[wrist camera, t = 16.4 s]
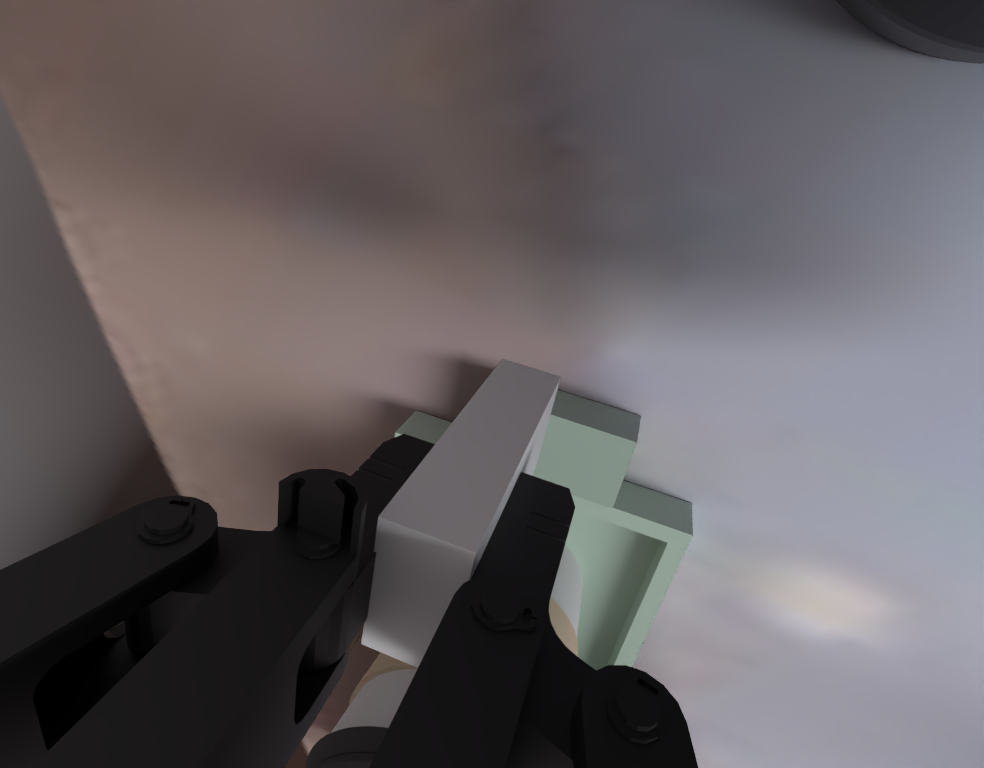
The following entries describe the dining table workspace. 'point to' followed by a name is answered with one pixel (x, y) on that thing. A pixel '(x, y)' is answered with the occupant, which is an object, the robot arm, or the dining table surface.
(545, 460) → the tray
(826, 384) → the dining table surface
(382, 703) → the coffee cup
